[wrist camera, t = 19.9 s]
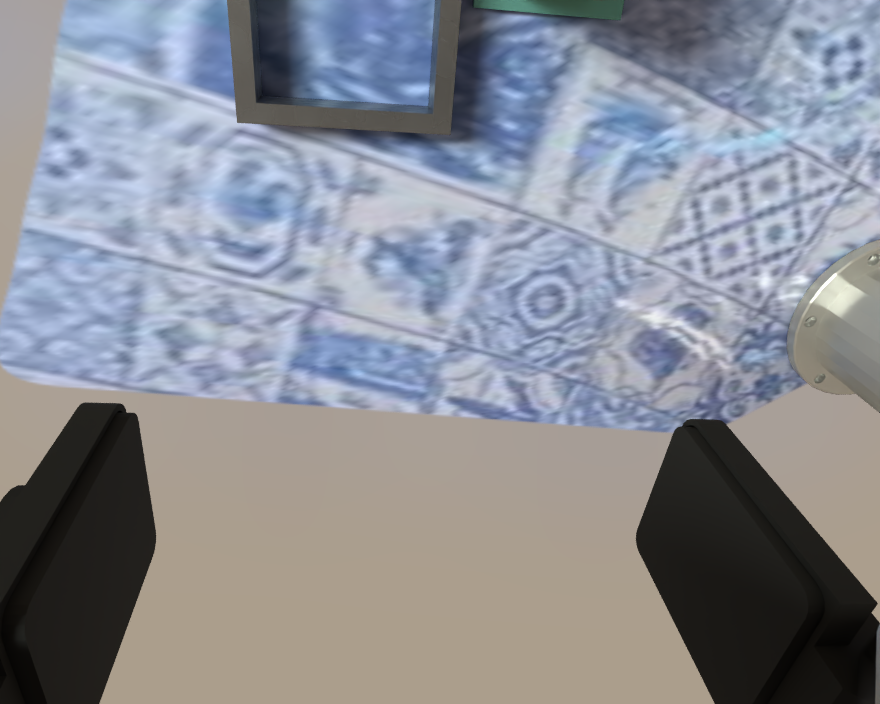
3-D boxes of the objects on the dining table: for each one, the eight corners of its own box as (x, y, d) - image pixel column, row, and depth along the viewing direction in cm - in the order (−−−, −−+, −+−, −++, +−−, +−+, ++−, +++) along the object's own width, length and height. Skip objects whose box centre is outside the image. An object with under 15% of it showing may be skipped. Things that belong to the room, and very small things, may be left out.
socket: (463, -114, 30) (471, -122, 27) (444, 126, 35) (450, 134, 33) (225, -141, 28) (214, -152, 26) (244, 114, 34) (237, 122, 31)
